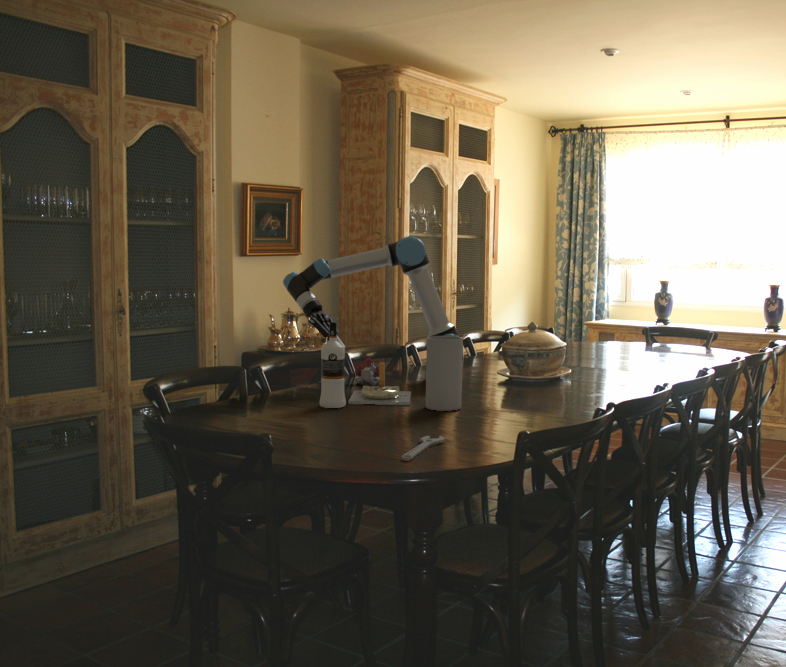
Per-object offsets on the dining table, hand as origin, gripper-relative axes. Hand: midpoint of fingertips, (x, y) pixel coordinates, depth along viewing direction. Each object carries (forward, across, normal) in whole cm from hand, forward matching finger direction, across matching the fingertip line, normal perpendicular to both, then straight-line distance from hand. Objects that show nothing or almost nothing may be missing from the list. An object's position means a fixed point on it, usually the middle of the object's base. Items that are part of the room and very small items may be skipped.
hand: (342, 349), depth 288 cm
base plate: (+27, +5, +4) cm, 28 cm away
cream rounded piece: (+26, +5, +4) cm, 27 cm away
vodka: (+23, +27, -1) cm, 35 cm away
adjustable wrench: (+63, +60, +38) cm, 95 cm away
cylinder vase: (+47, +6, +23) cm, 52 cm away
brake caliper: (+11, -20, -13) cm, 26 cm away
